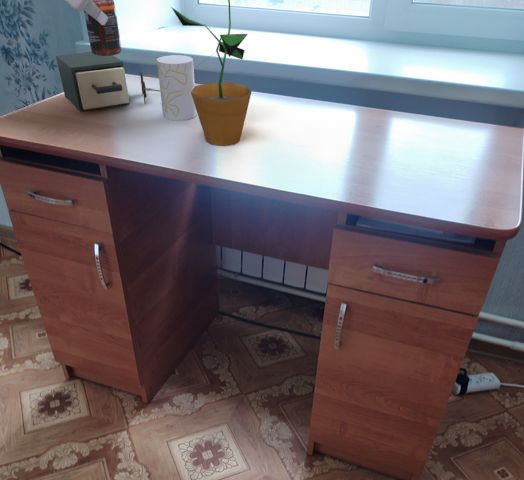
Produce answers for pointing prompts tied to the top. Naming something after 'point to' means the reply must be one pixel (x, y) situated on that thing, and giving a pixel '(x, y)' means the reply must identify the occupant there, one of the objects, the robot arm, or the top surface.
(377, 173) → the top surface
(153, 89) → the sunglasses
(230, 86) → the potted plant
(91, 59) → the cabinet
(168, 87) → the cup
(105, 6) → the supplement bottle
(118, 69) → the drawer
